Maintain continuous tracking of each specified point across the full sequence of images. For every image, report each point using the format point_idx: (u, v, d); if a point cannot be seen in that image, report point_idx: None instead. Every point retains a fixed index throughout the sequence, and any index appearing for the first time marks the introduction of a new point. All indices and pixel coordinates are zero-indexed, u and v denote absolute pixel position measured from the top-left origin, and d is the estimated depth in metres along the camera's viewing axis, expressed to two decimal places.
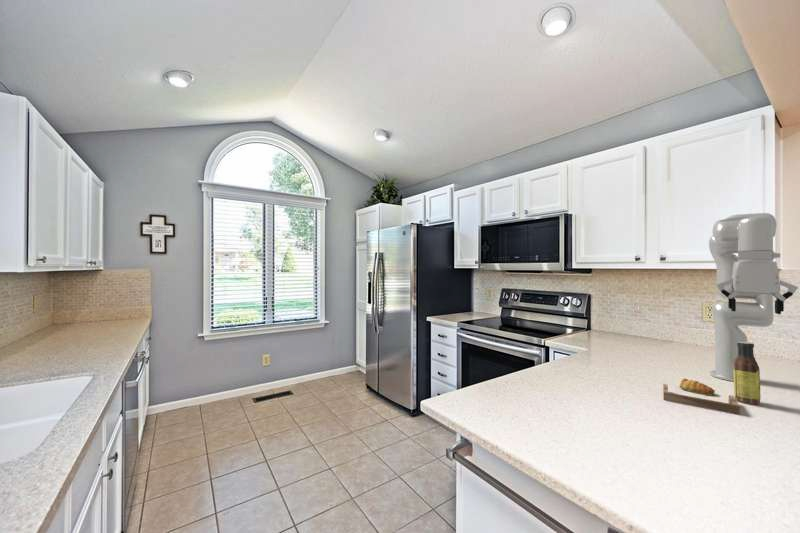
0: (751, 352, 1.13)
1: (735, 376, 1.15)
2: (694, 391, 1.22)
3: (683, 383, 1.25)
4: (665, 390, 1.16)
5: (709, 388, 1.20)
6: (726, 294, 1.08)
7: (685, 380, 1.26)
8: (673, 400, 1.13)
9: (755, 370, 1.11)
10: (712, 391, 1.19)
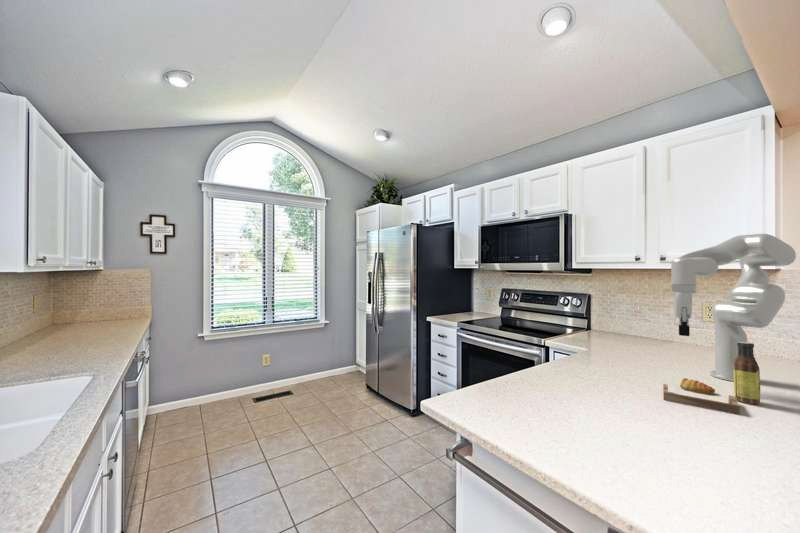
0: (751, 352, 1.13)
1: (735, 376, 1.15)
2: (695, 390, 1.22)
3: (684, 383, 1.25)
4: (665, 390, 1.16)
5: (709, 387, 1.21)
6: (686, 323, 1.32)
7: (685, 380, 1.26)
8: (673, 400, 1.13)
9: (755, 370, 1.11)
10: (712, 390, 1.20)
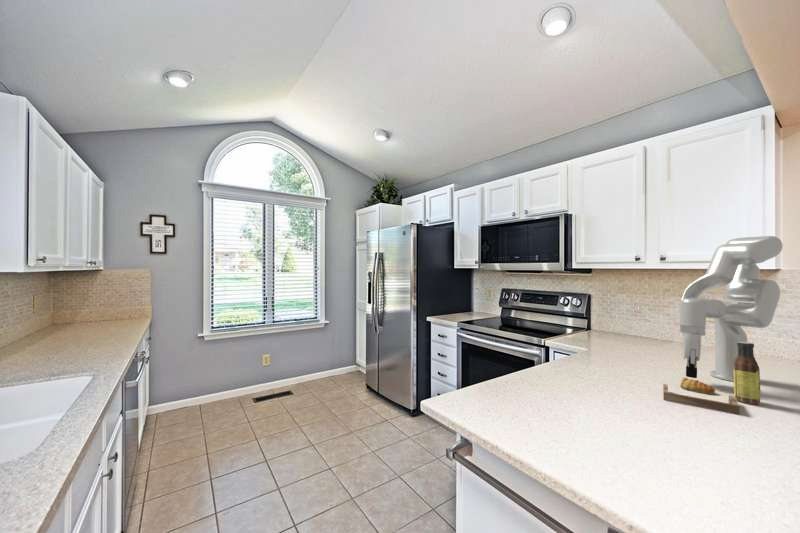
0: (751, 352, 1.13)
1: (735, 376, 1.15)
2: (695, 390, 1.22)
3: (684, 382, 1.26)
4: (665, 390, 1.16)
5: (709, 387, 1.21)
6: (694, 365, 1.30)
7: (685, 379, 1.27)
8: (673, 400, 1.13)
9: (755, 370, 1.11)
10: (713, 390, 1.21)
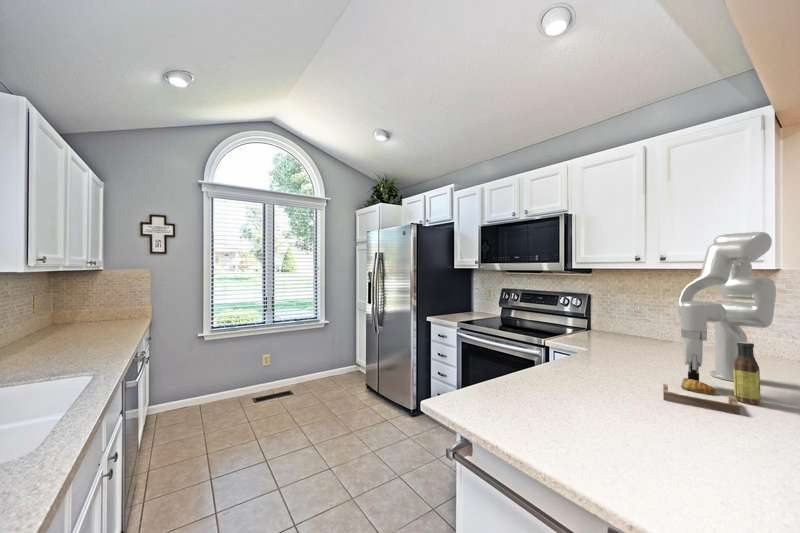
0: (751, 352, 1.13)
1: (735, 376, 1.15)
2: (696, 390, 1.22)
3: (684, 383, 1.25)
4: (665, 390, 1.16)
5: (710, 387, 1.21)
6: (696, 371, 1.27)
7: (686, 380, 1.26)
8: (673, 400, 1.13)
9: (755, 370, 1.11)
10: (713, 390, 1.20)
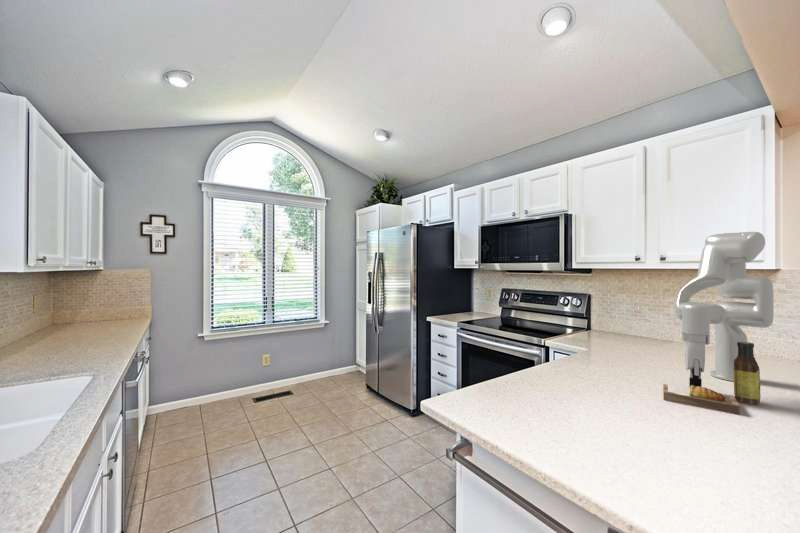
0: (751, 352, 1.13)
1: (735, 376, 1.15)
2: (707, 399, 1.14)
3: (694, 391, 1.17)
4: (665, 390, 1.16)
5: (720, 395, 1.14)
6: (698, 376, 1.20)
7: (694, 387, 1.18)
8: (673, 400, 1.13)
9: (755, 370, 1.11)
10: (724, 398, 1.13)
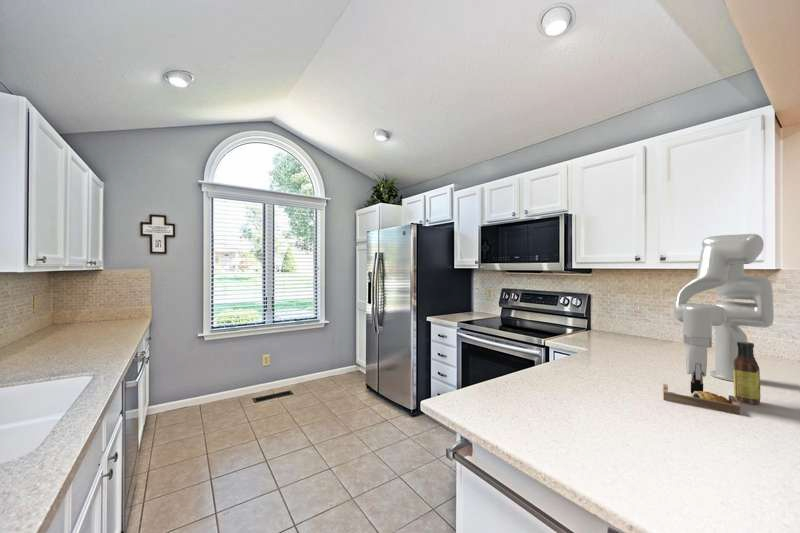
0: (751, 352, 1.13)
1: (735, 376, 1.15)
2: None
3: (705, 398, 1.10)
4: (665, 390, 1.16)
5: (725, 398, 1.11)
6: (700, 381, 1.15)
7: (702, 393, 1.12)
8: (673, 400, 1.13)
9: (755, 370, 1.11)
10: (728, 401, 1.11)
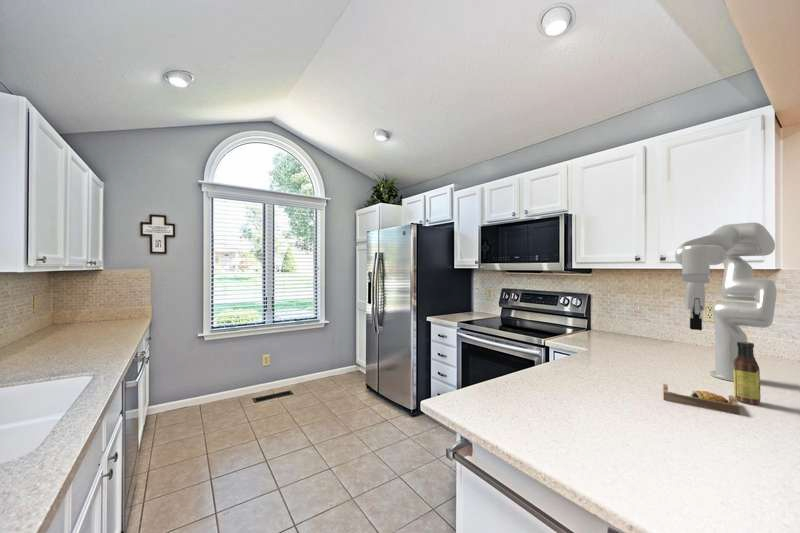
0: (751, 352, 1.13)
1: (735, 376, 1.15)
2: None
3: (704, 397, 1.11)
4: (665, 390, 1.16)
5: (723, 397, 1.12)
6: (699, 316, 1.21)
7: (700, 393, 1.12)
8: (673, 400, 1.13)
9: (755, 370, 1.11)
10: None
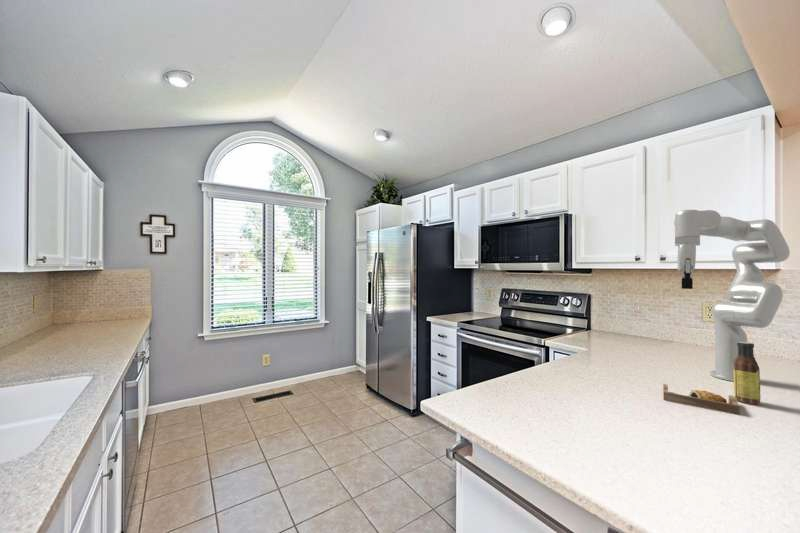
0: (751, 352, 1.13)
1: (735, 376, 1.15)
2: None
3: (703, 397, 1.11)
4: (665, 390, 1.16)
5: (721, 396, 1.12)
6: (690, 275, 1.30)
7: (699, 392, 1.13)
8: (673, 400, 1.13)
9: (755, 370, 1.11)
10: None
